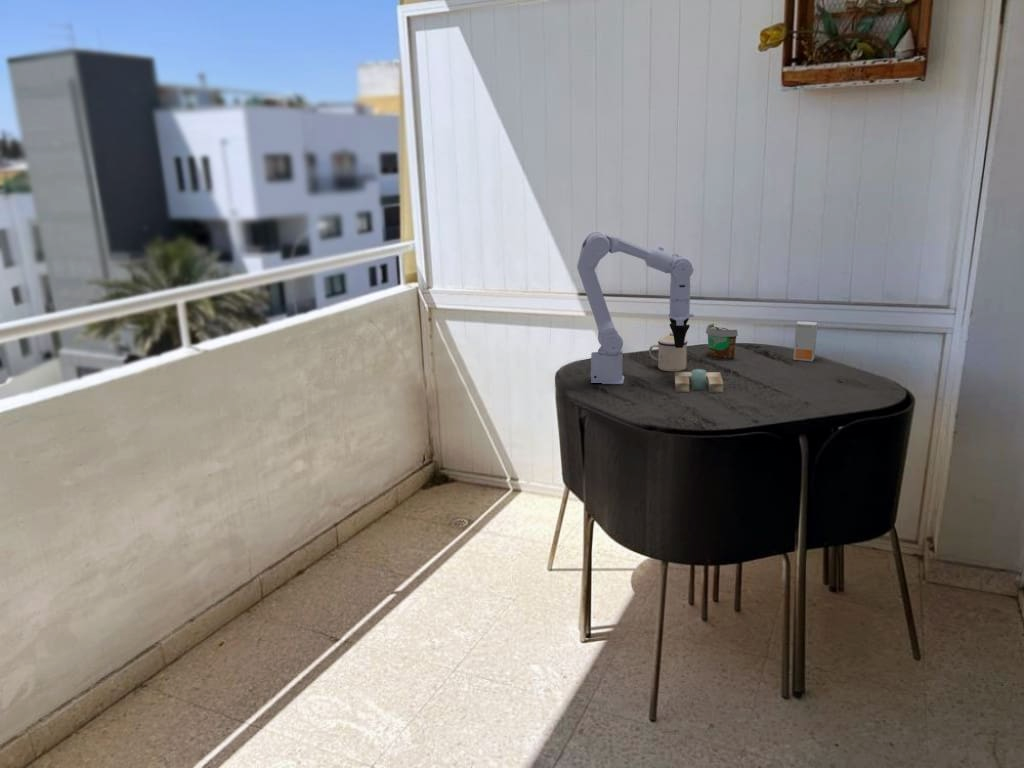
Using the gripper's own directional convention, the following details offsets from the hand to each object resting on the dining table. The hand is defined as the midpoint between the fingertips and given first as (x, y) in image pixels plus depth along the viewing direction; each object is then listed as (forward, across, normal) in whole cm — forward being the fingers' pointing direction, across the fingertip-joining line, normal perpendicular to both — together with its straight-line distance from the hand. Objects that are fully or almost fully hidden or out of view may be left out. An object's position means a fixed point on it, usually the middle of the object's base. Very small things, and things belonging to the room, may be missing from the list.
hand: (678, 344), depth 215 cm
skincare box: (+11, +24, -40) cm, 48 cm away
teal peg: (+10, -10, -6) cm, 15 cm away
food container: (+11, +26, -13) cm, 31 cm away
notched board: (+10, -8, -6) cm, 14 cm away
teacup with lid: (+11, +12, +3) cm, 16 cm away
